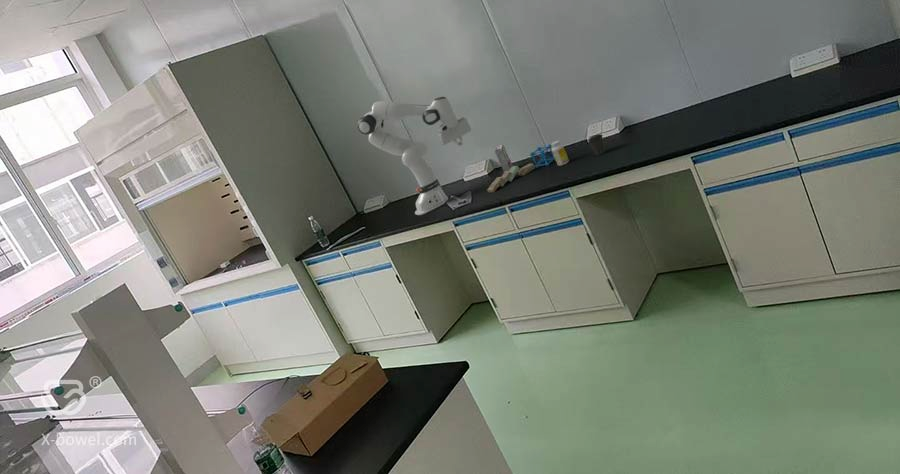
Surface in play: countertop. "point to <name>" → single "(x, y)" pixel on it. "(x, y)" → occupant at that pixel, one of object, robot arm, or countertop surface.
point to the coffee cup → (597, 144)
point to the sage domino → (513, 171)
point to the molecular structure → (542, 156)
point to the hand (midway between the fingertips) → (460, 145)
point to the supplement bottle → (559, 153)
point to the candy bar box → (503, 158)
